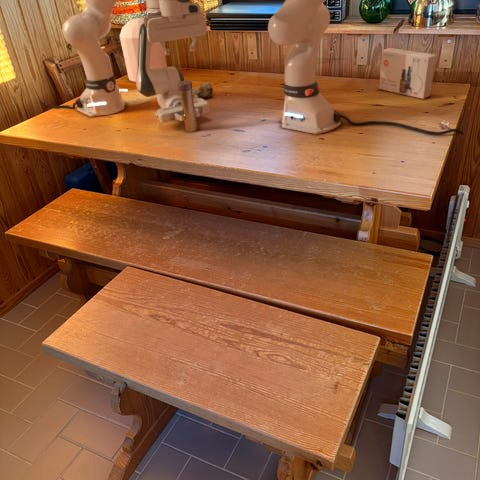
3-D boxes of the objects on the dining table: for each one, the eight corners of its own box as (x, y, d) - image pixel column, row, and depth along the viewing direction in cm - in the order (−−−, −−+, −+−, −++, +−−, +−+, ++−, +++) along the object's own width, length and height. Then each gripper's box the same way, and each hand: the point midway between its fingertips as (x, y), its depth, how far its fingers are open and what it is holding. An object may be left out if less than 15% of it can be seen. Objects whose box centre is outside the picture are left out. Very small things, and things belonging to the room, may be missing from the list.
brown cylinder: (186, 132, 173) (178, 86, 163) (185, 128, 177) (178, 82, 167) (198, 130, 173) (191, 84, 164) (196, 126, 177) (190, 81, 167)
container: (160, 81, 233) (149, 21, 217) (121, 82, 238) (108, 23, 222) (174, 69, 249) (165, 13, 233) (138, 70, 254) (126, 15, 238)
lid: (179, 91, 164) (178, 85, 163) (178, 87, 168) (177, 81, 167) (192, 89, 164) (192, 83, 163) (191, 85, 168) (190, 79, 167)
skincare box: (377, 89, 194) (381, 50, 185) (385, 86, 197) (389, 47, 188) (423, 99, 180) (429, 56, 171) (430, 95, 183) (437, 53, 174)
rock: (187, 97, 210) (190, 100, 202) (185, 83, 208) (188, 85, 199) (210, 94, 212) (214, 97, 204) (208, 80, 210) (212, 82, 201)
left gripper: (151, 105, 177) (162, 115, 166) (200, 93, 183) (214, 102, 173) (154, 121, 180) (165, 131, 170) (202, 109, 187) (216, 118, 176)
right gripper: (143, 14, 147) (151, 59, 155) (205, 5, 151) (210, 50, 159) (140, 11, 152) (149, 55, 160) (201, 3, 156) (206, 46, 164)
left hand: (190, 117), depth 171 cm, fingers closed on brown cylinder, 4 cm apart
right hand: (180, 52), depth 159 cm, fingers open, 7 cm apart
